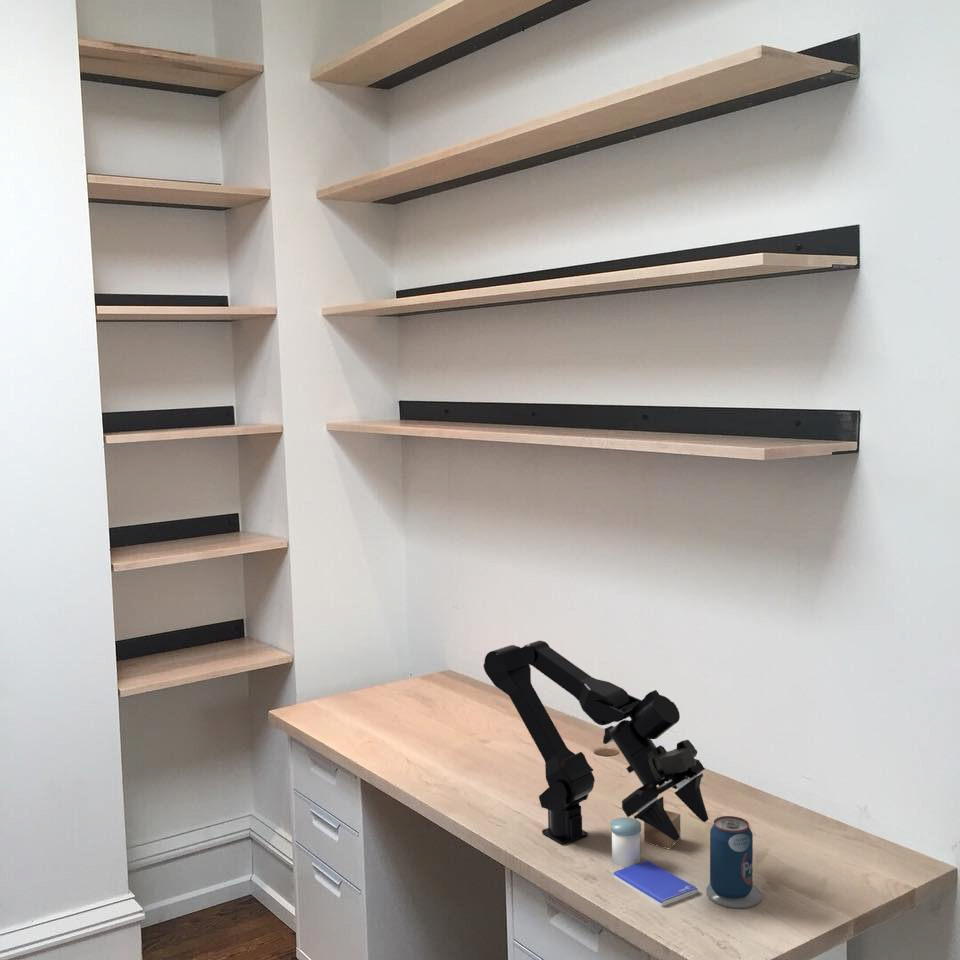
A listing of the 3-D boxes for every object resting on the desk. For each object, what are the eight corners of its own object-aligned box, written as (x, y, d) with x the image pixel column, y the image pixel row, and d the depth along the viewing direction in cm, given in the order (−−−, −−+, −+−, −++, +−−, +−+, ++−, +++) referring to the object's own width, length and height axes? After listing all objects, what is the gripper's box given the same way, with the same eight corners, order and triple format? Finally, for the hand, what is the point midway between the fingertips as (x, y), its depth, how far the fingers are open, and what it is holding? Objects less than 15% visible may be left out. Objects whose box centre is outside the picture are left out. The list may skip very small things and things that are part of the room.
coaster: (695, 892, 175) (695, 889, 175) (731, 877, 180) (731, 873, 180) (736, 914, 168) (736, 910, 168) (773, 897, 173) (773, 894, 173)
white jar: (604, 859, 188) (604, 822, 187) (627, 851, 191) (626, 815, 190) (625, 871, 184) (624, 833, 183) (647, 862, 187) (647, 825, 186)
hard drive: (697, 886, 175) (648, 859, 186) (661, 900, 171) (613, 871, 181) (697, 895, 175) (648, 867, 186) (661, 909, 171) (613, 880, 181)
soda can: (754, 903, 170) (754, 833, 169) (711, 900, 171) (711, 830, 170) (750, 883, 177) (750, 815, 176) (708, 880, 178) (708, 813, 177)
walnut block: (644, 843, 194) (644, 817, 194) (656, 833, 199) (656, 808, 198) (668, 849, 192) (668, 823, 191) (680, 839, 196) (680, 814, 195)
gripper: (637, 745, 174) (693, 828, 168) (696, 715, 187) (750, 791, 181) (598, 776, 180) (651, 857, 174) (658, 745, 194) (709, 819, 188)
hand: (692, 830), depth 179 cm, fingers open, 9 cm apart
